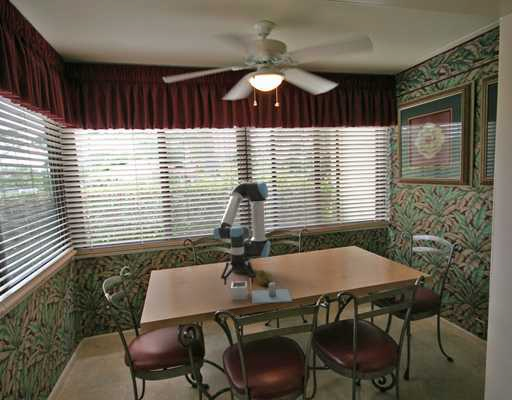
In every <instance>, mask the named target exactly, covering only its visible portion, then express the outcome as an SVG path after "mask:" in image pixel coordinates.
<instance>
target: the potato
mask: <svg viewBox="0 0 512 400" xmlns="http://www.w3.org/2000/svg"><path fill="white" fill-rule="evenodd" d="M255 274H256V277H255V278H256V280H257V281H258V282H259V283H258V284H260V286H263V287H269V283H271V282H272V279H271V277H270V275H269V273H268V272H266V271H265V270H262V269H260V270H258V271H257V272H256V273H255Z"/></svg>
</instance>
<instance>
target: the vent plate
mask: <svg viewBox="0 0 512 400" xmlns="http://www.w3.org/2000/svg"><path fill="white" fill-rule="evenodd" d="M276 285H277V284H276V282H274V281H273V282H271V283H269V286H268V289H264V290H251V304H252V305H256V304H258V303H260V304H274V303H276V304H277V303H292V302H293V300H292V297H291V296H292V295H291V293H290V291H289V289H288V288H282V289H281V288H280V289H277V286H276ZM258 305H259V304H258Z"/></svg>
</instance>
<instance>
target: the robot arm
mask: <svg viewBox="0 0 512 400" xmlns="http://www.w3.org/2000/svg"><path fill="white" fill-rule="evenodd" d="M268 197H269V189H268V185H267V183H266V182H265V181H261V180H258V181H241V182H240V183H238V184H237V185H236V186H235V187H233V189H232V190H231V192H230V194H229V200H228V204H227V207H226V209H225V211H224V214H223V217H222V220H221V222H220V224H219V226H215V227H214V229H213V238H215V239H218V240H230V253H231V254H230V256H231V257H230V259H231V262H230V261H226V262H225V266H224V267H225V268H224V269H223V272H222V274H221V276H220V279H222V280H223V283H224V285H225V286H226V292H227V291H229V279H228V278H229V276H230V275H232V273H234V274H237V275H239V274H247V275H248V276H249V290H251V291H253V290H252V284H254V278H257V277H256V274H257V273H256V272H255V270H254V267H253V265H252V261H251V258H260V259H262V258H263V259H264V258H265V259H266V258H267V257H268V256H269V253H270V250H271V242H270V240H268V237H266V228H265V227H266V226H265V204H264V203H265V201H266V200H267V199H268ZM244 199H248V202H249V203H250V205H251V221H252V223H251V224H252V231H251V228H250V227H249V226H245V225H244V226H240V225H235V226H234V222H235V219H236V217H237V214H238V211H239V208H240V206H241V203H242V202H243V200H244ZM251 232H252V233H251ZM251 234H252V237H251V238H250V236H251ZM230 266H231V267H230ZM229 267H230V269H229V270H228V268H229ZM227 270H228V272H227ZM226 272H227V273H226Z"/></svg>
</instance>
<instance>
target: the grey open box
mask: <svg viewBox="0 0 512 400" xmlns="http://www.w3.org/2000/svg"><path fill="white" fill-rule="evenodd" d="M230 292H231V293H230V294H231V300H232V301H235V300H248V281H247V280H244V281H243V280H242V281H240V280H239V281H231V285H230Z"/></svg>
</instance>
